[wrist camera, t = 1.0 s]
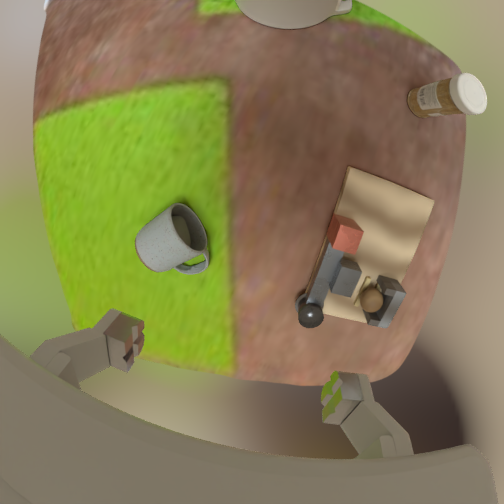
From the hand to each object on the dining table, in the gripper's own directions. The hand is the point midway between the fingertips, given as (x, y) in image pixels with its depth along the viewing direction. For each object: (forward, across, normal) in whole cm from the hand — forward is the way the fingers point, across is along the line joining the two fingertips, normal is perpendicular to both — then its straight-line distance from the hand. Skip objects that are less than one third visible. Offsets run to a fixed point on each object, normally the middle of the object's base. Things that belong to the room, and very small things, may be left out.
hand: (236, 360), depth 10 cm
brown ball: (+27, -18, +8) cm, 33 cm away
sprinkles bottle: (+28, -16, -21) cm, 39 cm away
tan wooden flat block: (+29, -16, +3) cm, 33 cm away
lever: (+27, -11, +6) cm, 30 cm away
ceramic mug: (+29, +11, +8) cm, 32 cm away
